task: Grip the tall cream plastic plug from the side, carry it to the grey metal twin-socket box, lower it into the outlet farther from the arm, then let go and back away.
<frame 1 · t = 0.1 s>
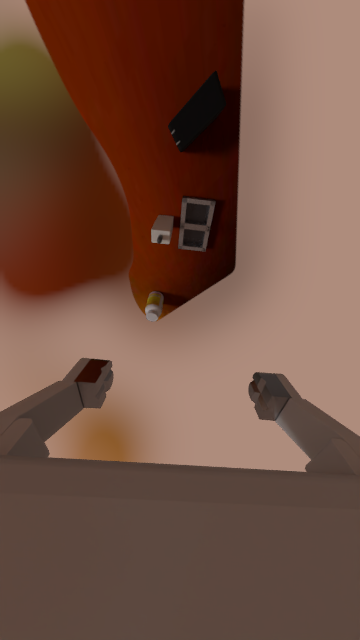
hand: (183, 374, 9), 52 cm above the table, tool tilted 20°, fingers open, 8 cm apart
supplement bottle: (156, 296, 71), on the table
plug: (166, 221, 49), on the table
socket box: (194, 224, 50), on the table
electronic device: (194, 123, 36), on the table
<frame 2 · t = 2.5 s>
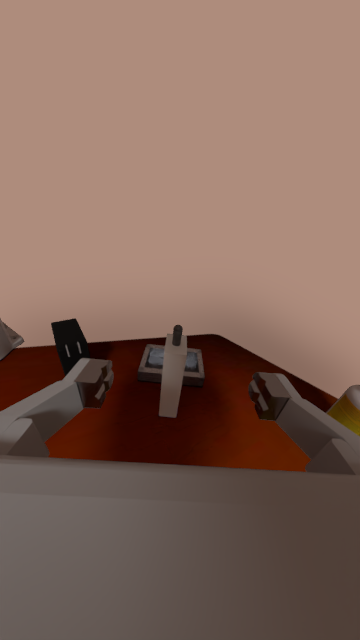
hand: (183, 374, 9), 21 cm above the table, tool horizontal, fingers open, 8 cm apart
supplement bottle: (339, 439, 28), on the table
plug: (168, 404, 29), on the table
socket box: (171, 368, 37), on the table
electronic device: (78, 371, 34), on the table
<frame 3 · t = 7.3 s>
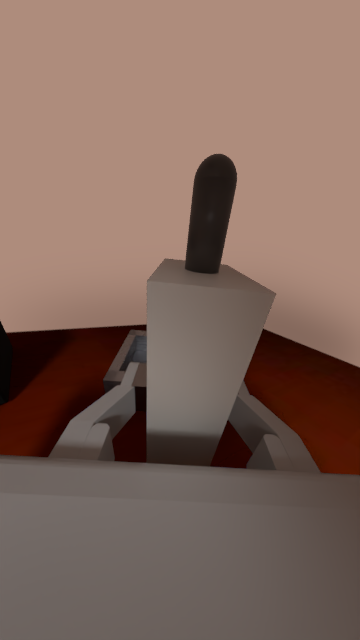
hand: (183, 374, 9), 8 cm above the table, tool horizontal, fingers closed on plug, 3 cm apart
plug: (172, 461, 12), on the table, touching gripper
socket box: (175, 371, 20), on the table
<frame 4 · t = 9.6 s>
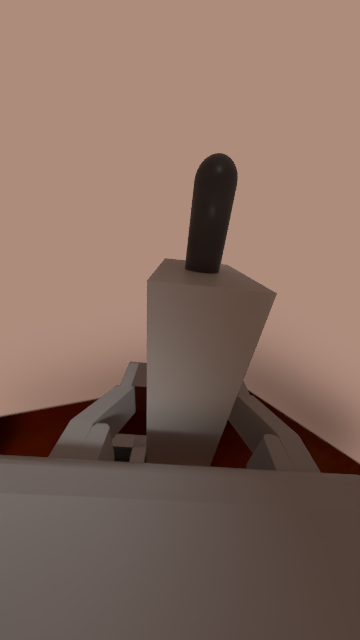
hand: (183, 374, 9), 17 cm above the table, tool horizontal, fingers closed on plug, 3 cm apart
plug: (171, 461, 12), point 9 cm above the table, touching gripper
socket box: (132, 500, 16), on the table
when the fingers open (9 cm above the table, at t = 12.1 s): plug drops 1 cm, resting on socket box.
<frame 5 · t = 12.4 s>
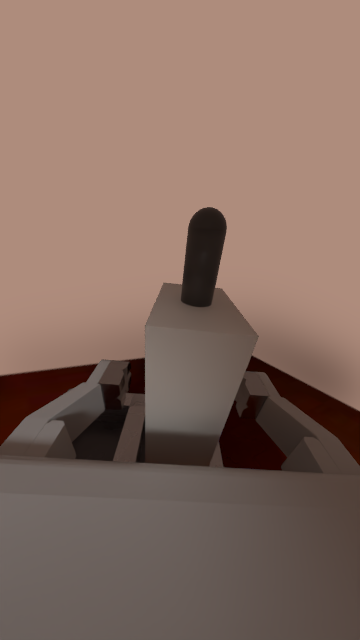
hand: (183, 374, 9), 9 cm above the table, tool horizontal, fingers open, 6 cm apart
plug: (170, 468, 13), resting on socket box
socket box: (129, 467, 13), on the table
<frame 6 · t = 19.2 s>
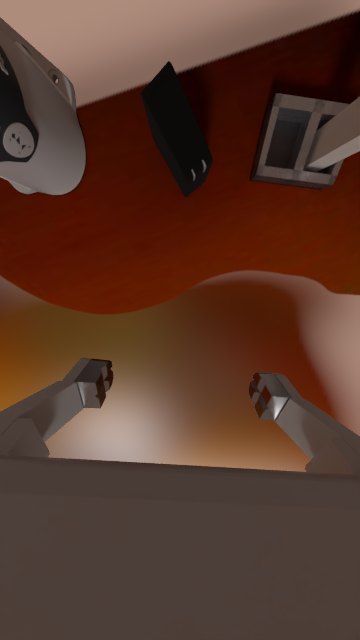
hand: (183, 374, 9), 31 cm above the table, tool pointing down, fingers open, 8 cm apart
plug: (315, 153, 27), resting on socket box
socket box: (295, 151, 28), on the table
electronic device: (179, 162, 28), on the table
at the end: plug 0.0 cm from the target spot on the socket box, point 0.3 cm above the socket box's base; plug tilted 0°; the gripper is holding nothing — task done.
